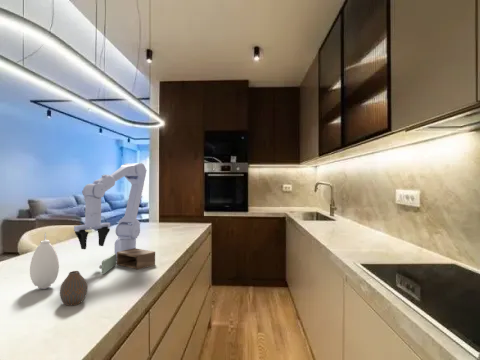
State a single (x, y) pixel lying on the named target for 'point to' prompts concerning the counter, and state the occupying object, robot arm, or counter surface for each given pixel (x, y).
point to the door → (108, 263)
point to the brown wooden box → (136, 258)
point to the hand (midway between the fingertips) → (92, 247)
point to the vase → (73, 289)
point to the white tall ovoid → (44, 265)
